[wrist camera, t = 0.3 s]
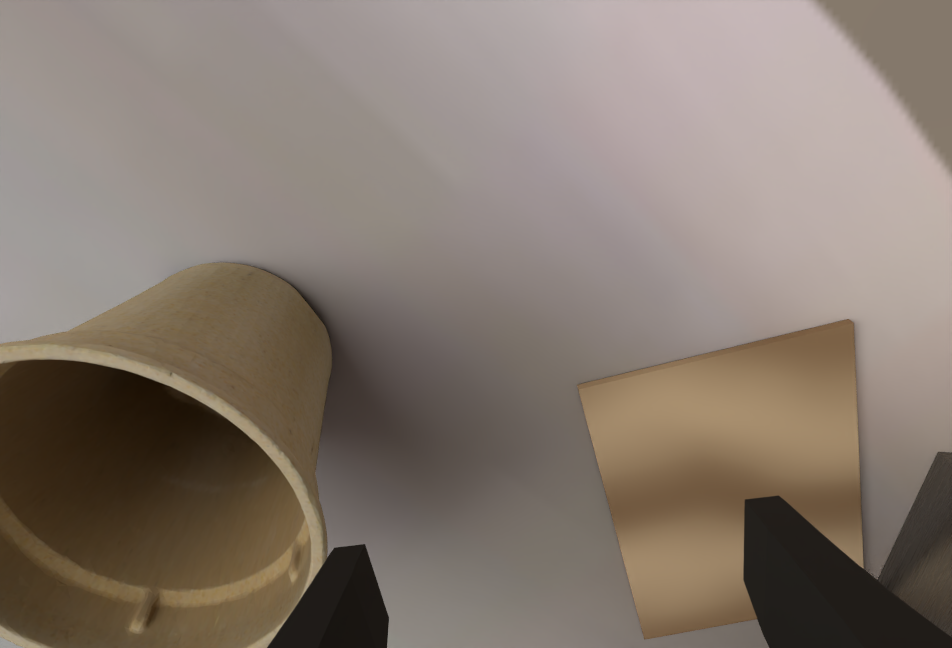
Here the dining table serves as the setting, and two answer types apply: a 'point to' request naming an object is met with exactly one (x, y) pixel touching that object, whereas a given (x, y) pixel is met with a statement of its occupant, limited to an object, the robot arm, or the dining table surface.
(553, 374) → the dining table surface
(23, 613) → the flower pot
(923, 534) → the uneven u-shaped block
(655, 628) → the plate
